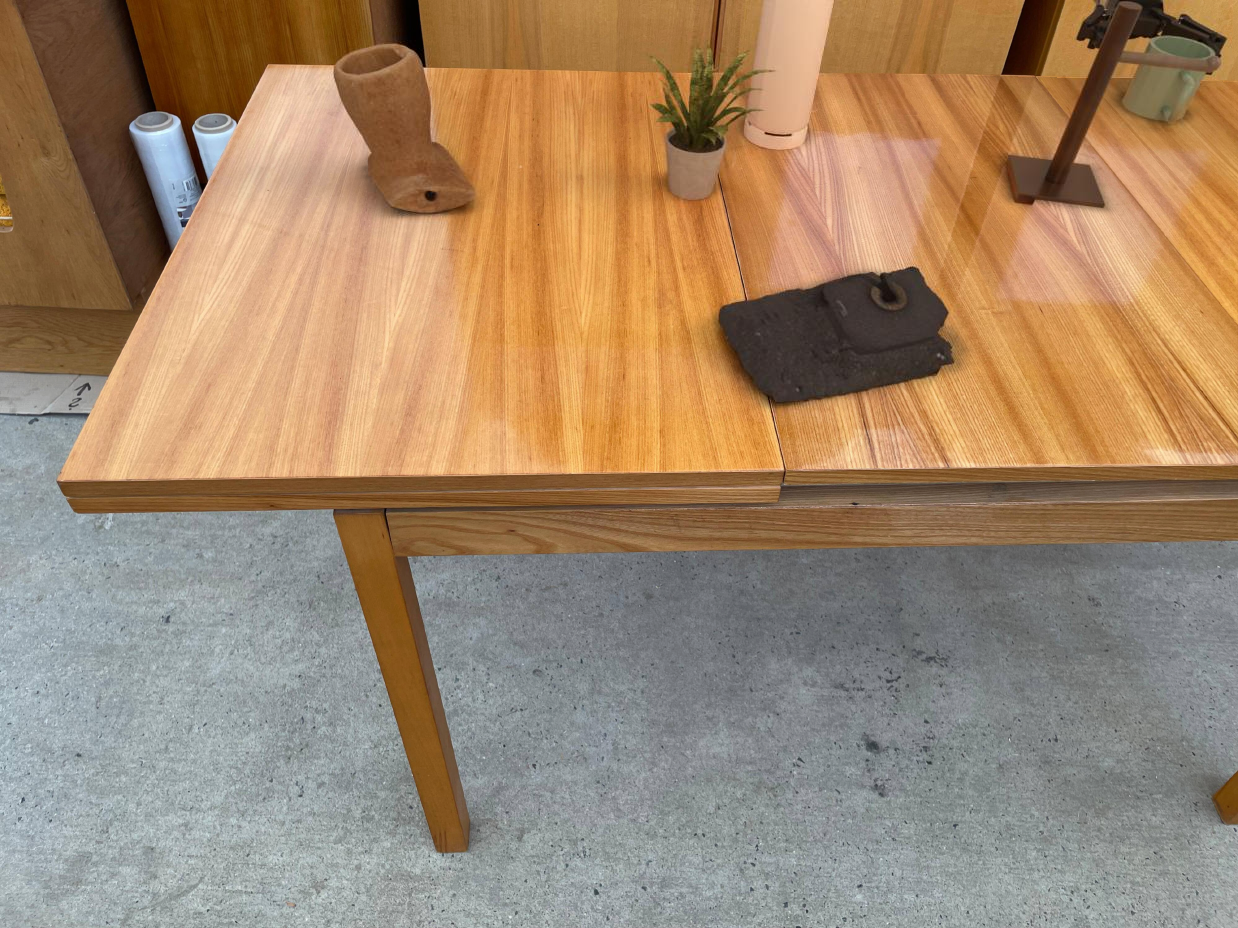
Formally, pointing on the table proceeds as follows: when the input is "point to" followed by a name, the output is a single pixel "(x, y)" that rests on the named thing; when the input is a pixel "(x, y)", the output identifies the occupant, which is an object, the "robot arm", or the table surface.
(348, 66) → the brown clay vessel
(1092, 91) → the mug stand
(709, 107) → the house plant
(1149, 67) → the mug
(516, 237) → the table surface
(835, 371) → the dark brown flat slab
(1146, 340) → the table surface
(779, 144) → the bottle
